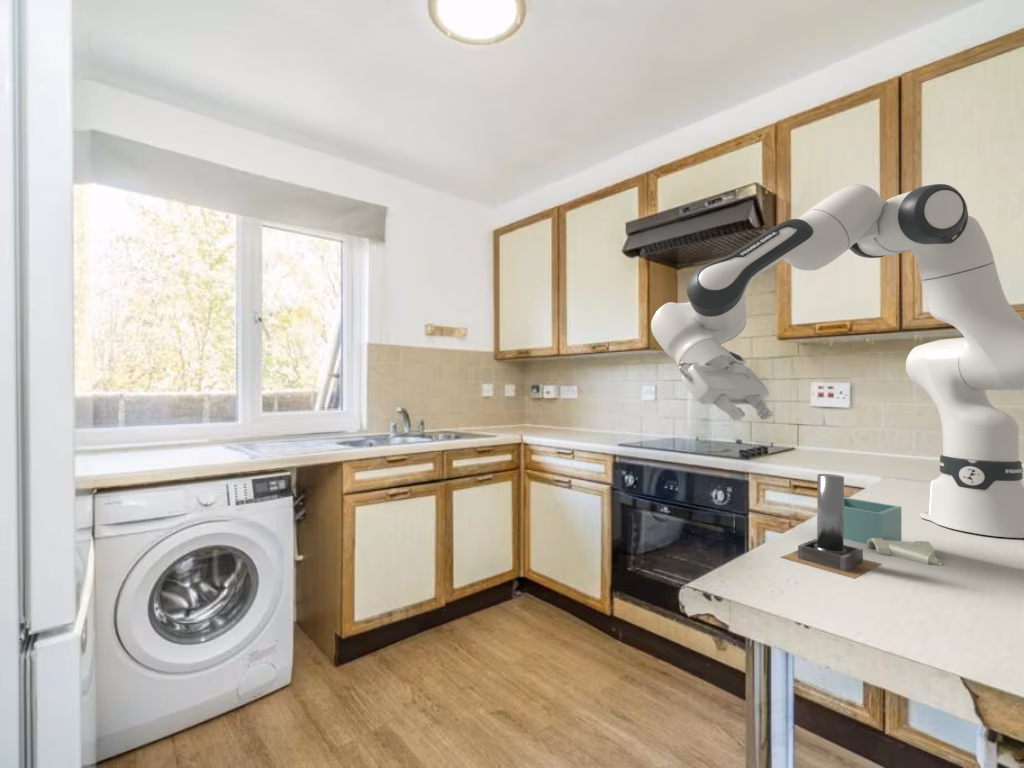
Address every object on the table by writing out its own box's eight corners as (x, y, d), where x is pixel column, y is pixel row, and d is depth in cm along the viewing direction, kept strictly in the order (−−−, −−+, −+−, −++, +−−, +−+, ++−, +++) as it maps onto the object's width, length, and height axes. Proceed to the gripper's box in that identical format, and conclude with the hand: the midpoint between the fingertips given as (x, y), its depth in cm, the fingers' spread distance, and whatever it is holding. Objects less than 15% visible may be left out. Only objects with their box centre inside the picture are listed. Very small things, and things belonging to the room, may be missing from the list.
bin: (842, 533, 93) (842, 496, 93) (901, 546, 85) (901, 506, 85) (821, 541, 87) (821, 503, 88) (881, 556, 80) (881, 514, 80)
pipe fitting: (949, 580, 72) (921, 560, 78) (950, 554, 71) (922, 537, 78) (887, 575, 73) (866, 556, 80) (888, 550, 73) (867, 533, 80)
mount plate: (809, 554, 80) (810, 533, 80) (881, 573, 72) (881, 550, 72) (780, 566, 75) (780, 544, 75) (854, 589, 66) (854, 564, 66)
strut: (821, 553, 76) (821, 472, 76) (851, 561, 73) (852, 476, 73) (808, 559, 74) (809, 475, 74) (839, 567, 71) (840, 479, 71)
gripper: (684, 349, 87) (734, 406, 79) (746, 356, 98) (795, 406, 90) (663, 374, 90) (709, 430, 82) (725, 378, 102) (770, 427, 94)
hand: (755, 417), depth 86 cm, fingers open, 8 cm apart
